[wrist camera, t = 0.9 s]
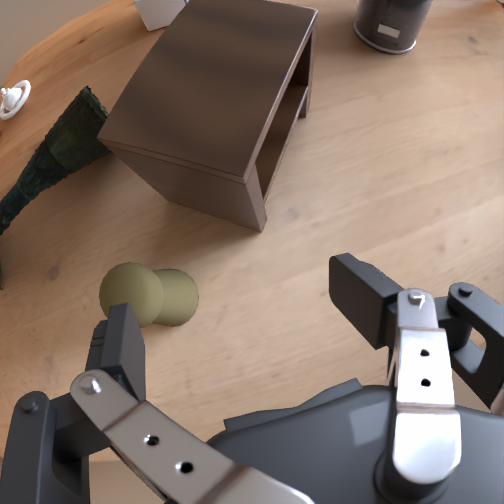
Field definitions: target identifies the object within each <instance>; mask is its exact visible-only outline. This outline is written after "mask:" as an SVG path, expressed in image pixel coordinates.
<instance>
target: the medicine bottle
mask: <svg viewBox="0 0 504 504" xmlns="http://www.w3.org/2000/svg"><path fill="white" fill-rule="evenodd" d="M188 2H189V0H134V4H135V6H136V8H137V10H138V12H139V14H140V16H141V18H142V20H143V22H144V24H145V26H146V28H147V30H148V31H152V30H156V29H159V28H162V27H165V26H169V25H170V23H171V22H172V21H173V20H174V18H175V17H176V16H177V15H178V13H179V12H180V11H181V10H182V9H183V7H184V6H185V5H186V4H187V3H188Z"/></svg>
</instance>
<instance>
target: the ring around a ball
mask: <svg viewBox="0 0 504 504" xmlns="http://www.w3.org/2000/svg"><path fill="white" fill-rule="evenodd" d="M22 86H25V91H24V92H23V91H22V90H21V87H22ZM7 91H8V92H7ZM0 92H1V94H3V95H2V98H4V100H3V101H2V104H1V106H0V118H1V119H3V120H7V119H9V118H11V117H12V116H14V115H15V114H16V113H17V112H18V111H19V110H20V108H21V107H22V106H23V104H24V103H25V101H26V99H27V97H28V95H29V92H30V83H29V82H28V81H21V82H19V83H17V84H16V85H15V86H14V87H13V88H12V89H11V90H10V89H9V88H8V89H6V90H5V89H4V88H2V89H1V91H0ZM6 92H7V93H6ZM5 94H6V95H5ZM4 95H5V96H4ZM5 108H6V109H7V110H8V111H10V112H9V113H7V114H5V113H4V110H5Z"/></svg>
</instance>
